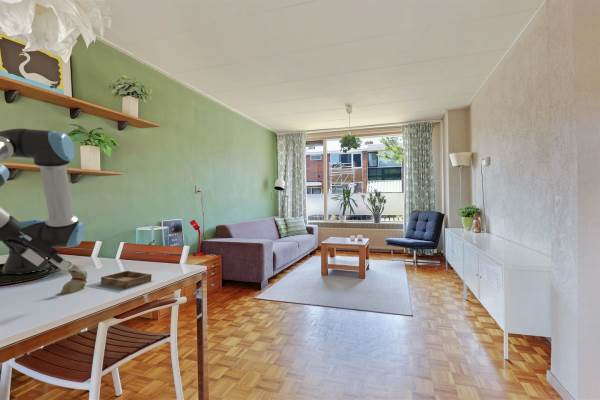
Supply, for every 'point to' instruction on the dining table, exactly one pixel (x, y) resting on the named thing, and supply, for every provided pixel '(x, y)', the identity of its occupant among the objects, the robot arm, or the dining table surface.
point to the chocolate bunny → (75, 281)
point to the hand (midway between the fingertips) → (53, 264)
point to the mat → (111, 287)
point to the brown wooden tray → (126, 279)
